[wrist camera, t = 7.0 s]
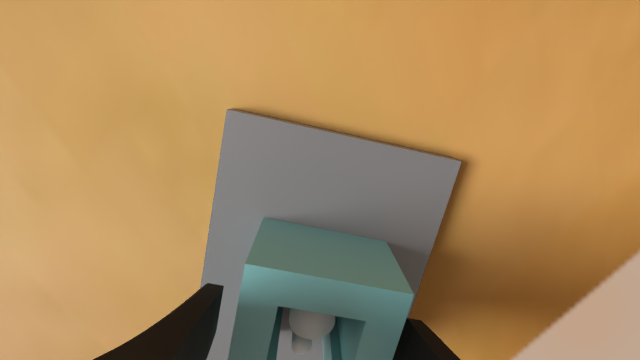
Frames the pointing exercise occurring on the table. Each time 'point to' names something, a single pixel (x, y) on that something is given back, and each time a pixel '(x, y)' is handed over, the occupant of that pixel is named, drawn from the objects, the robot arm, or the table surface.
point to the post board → (317, 208)
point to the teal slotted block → (320, 292)
